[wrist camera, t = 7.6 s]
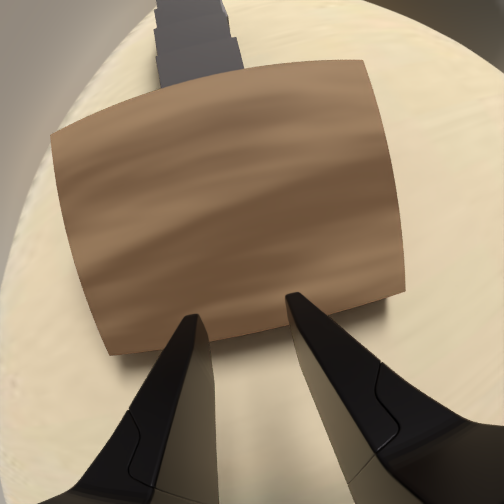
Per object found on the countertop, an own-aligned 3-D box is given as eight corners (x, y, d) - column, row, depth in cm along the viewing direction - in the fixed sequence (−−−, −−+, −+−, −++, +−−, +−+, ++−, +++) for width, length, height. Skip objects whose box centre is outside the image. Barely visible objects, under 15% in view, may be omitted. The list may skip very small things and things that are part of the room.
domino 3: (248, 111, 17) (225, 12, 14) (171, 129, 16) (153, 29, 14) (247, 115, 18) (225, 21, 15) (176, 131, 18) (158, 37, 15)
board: (405, 291, 13) (362, 60, 11) (109, 355, 13) (50, 134, 11) (384, 278, 16) (346, 76, 13) (123, 335, 16) (72, 140, 13)
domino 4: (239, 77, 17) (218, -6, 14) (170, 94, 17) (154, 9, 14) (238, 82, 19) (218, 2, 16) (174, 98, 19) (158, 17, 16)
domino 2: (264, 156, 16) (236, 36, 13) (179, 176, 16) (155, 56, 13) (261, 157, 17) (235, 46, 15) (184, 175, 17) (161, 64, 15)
